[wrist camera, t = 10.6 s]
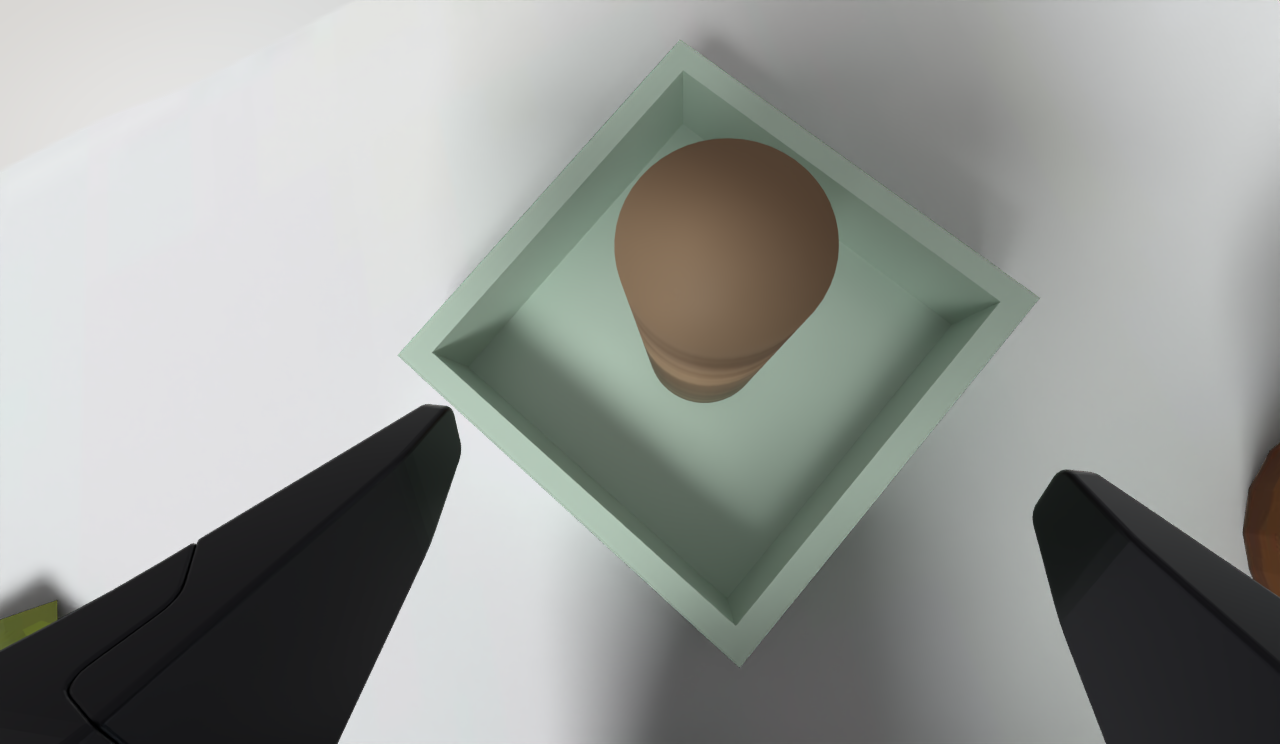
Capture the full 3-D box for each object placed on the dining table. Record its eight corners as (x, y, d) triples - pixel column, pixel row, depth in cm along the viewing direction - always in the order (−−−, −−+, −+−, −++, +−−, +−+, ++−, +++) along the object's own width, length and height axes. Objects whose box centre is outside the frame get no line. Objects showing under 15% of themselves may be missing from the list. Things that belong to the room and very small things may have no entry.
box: (729, 629, 19) (739, 668, 16) (443, 370, 22) (397, 355, 18) (978, 324, 20) (1039, 297, 17) (680, 103, 22) (680, 39, 19)
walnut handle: (711, 425, 20) (741, 398, 10) (626, 355, 21) (569, 258, 10) (782, 340, 20) (886, 225, 10) (696, 273, 21) (709, 98, 11)
